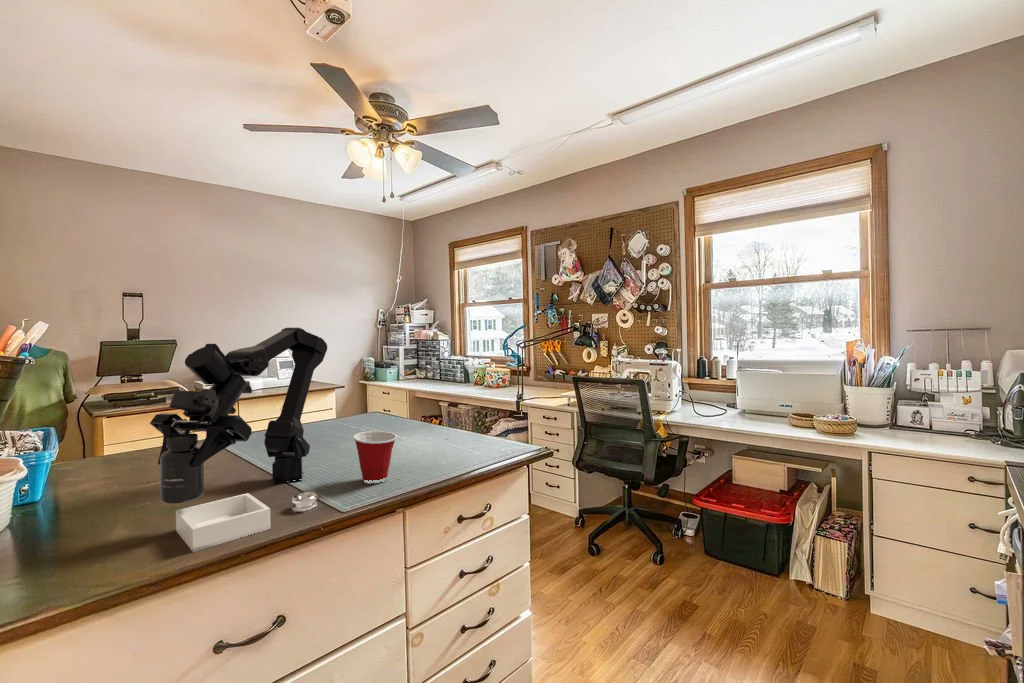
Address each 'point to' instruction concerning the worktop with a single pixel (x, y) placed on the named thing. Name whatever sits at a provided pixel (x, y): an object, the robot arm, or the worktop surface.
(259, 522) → the bin
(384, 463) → the plastic cup
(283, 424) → the robot arm
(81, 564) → the worktop surface
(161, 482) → the supplement bottle
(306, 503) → the grooved metal pulley
